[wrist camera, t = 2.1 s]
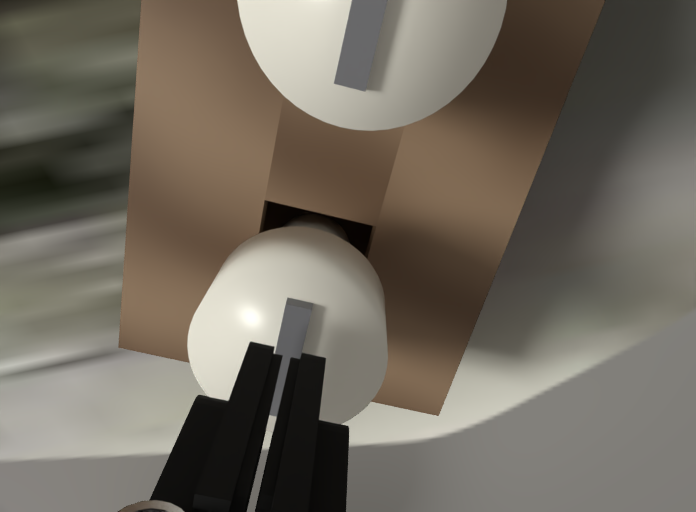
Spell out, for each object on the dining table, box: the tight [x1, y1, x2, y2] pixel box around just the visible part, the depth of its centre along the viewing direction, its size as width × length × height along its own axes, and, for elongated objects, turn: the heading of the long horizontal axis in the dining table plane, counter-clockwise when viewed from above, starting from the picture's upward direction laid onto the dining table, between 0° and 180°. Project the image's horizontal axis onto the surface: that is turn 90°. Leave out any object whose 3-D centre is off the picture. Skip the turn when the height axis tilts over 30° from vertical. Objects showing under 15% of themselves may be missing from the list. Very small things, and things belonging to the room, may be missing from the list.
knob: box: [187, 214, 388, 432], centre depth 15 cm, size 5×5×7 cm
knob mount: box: [119, 0, 605, 416], centre depth 16 cm, size 26×12×5 cm, turn 167°
